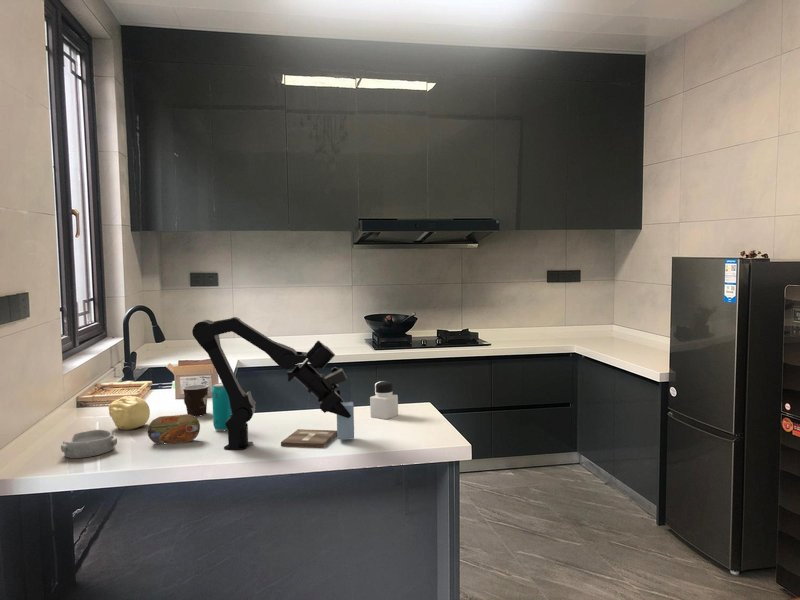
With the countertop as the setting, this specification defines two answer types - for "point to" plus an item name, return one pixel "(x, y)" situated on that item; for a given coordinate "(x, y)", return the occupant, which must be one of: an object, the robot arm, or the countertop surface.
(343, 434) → the slate-blue block
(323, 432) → the board
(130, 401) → the sculpture
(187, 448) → the countertop surface
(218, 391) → the beverage can
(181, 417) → the tin
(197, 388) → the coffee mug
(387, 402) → the medicine bottle
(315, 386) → the robot arm
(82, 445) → the dish
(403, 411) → the countertop surface
